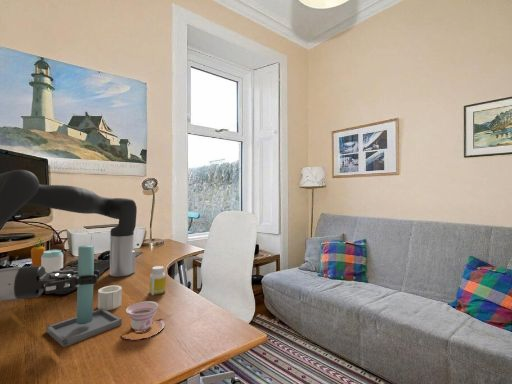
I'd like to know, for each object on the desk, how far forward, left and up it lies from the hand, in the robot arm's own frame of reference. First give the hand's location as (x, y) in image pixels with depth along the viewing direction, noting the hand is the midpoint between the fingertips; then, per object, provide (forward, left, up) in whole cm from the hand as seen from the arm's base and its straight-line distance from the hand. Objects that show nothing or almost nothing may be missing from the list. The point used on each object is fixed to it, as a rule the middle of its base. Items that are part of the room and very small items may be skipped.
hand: (97, 276), depth 75 cm
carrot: (-7, -68, -15) cm, 70 cm away
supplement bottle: (-25, -8, -15) cm, 30 cm away
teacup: (-8, +9, -15) cm, 19 cm away
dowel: (+2, -1, -12) cm, 12 cm away
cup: (-9, -10, -14) cm, 20 cm away
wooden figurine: (-15, -70, -15) cm, 73 cm away
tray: (+2, -1, -14) cm, 15 cm away
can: (-7, -52, -15) cm, 55 cm away
